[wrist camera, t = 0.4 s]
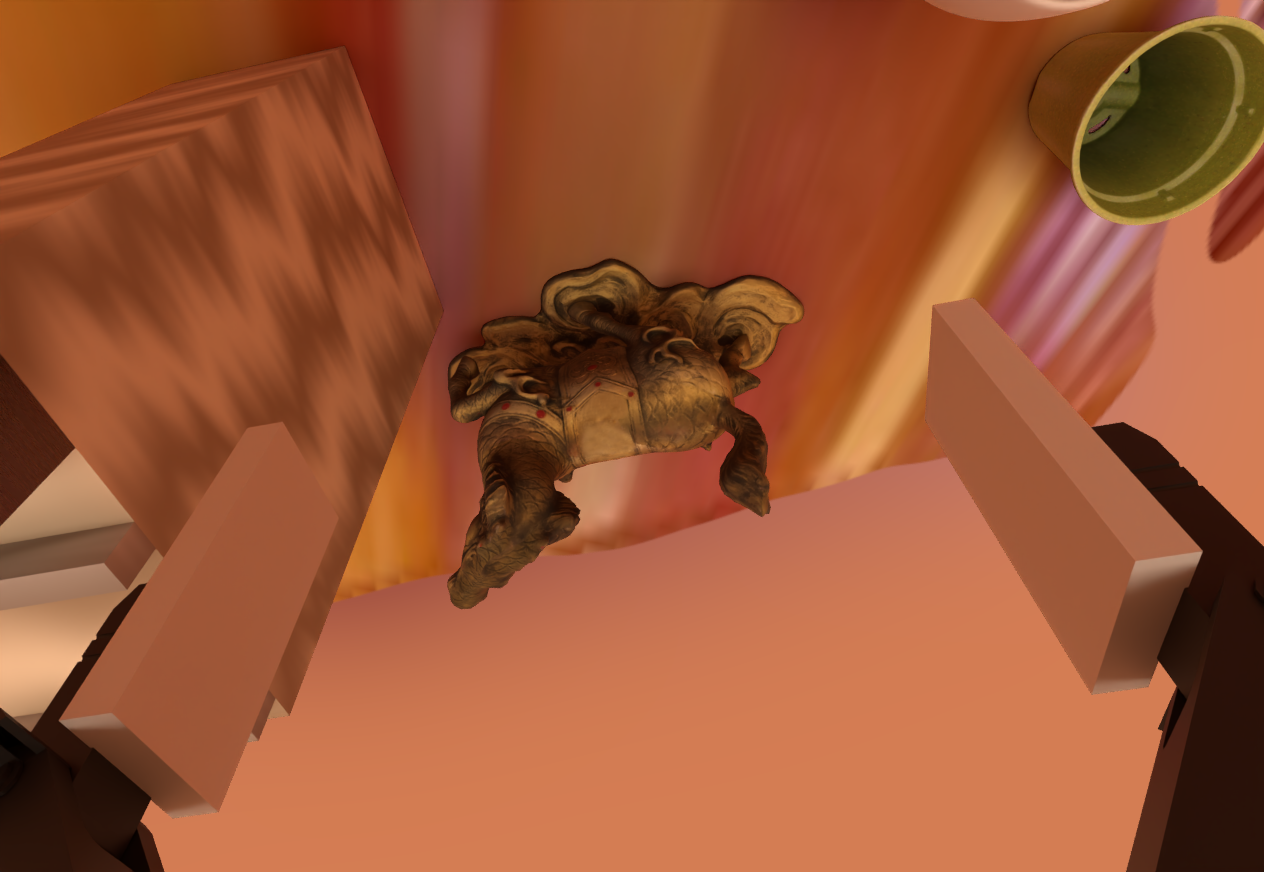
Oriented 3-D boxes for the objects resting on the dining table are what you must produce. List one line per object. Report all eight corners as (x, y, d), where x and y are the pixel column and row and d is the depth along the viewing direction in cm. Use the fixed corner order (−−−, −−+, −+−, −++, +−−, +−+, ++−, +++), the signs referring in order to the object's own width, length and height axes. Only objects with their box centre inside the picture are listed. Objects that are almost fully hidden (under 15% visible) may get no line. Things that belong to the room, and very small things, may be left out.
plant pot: (966, 91, 42) (1039, 129, 35) (1128, -48, 38) (1246, -36, 31) (1041, 206, 46) (1120, 261, 39) (1194, 91, 42) (1311, 129, 35)
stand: (171, 84, 40) (-560, 401, 15) (344, 45, 40) (-116, 311, 14) (301, 337, 50) (-13, 797, 24) (443, 310, 49) (273, 757, 24)
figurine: (414, 300, 49) (319, 506, 32) (793, 217, 46) (900, 393, 30) (479, 451, 56) (429, 680, 40) (808, 386, 54) (900, 602, 37)
